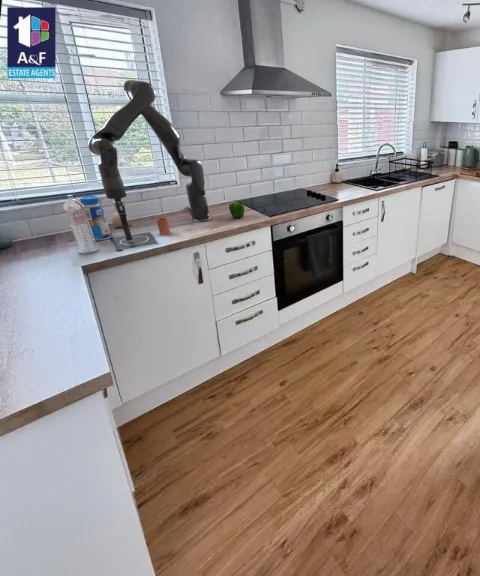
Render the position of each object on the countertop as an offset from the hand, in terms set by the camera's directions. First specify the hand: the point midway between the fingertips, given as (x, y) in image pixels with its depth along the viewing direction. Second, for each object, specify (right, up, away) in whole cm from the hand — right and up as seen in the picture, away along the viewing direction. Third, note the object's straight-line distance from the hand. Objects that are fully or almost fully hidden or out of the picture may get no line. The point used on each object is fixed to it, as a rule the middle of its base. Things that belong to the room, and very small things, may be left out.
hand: (125, 224), depth 171 cm
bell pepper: (+34, +16, +47) cm, 60 cm away
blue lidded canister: (-18, -5, +10) cm, 21 cm away
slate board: (0, -7, +7) cm, 10 cm away
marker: (0, -7, +4) cm, 8 cm away
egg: (-20, +3, +26) cm, 32 cm away
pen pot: (+8, -2, +17) cm, 19 cm away
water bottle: (-12, -14, -6) cm, 19 cm away
